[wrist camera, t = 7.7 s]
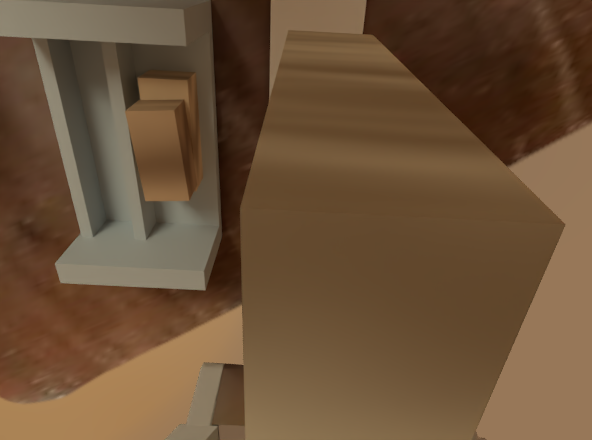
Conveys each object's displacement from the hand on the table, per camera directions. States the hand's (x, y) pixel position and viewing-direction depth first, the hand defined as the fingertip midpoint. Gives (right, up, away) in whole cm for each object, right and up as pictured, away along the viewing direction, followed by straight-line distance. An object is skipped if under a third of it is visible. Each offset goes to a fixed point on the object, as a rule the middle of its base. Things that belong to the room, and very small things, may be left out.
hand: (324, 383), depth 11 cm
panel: (0, +5, +8) cm, 9 cm away
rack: (-14, +12, +26) cm, 32 cm away
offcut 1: (-11, +12, +25) cm, 29 cm away
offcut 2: (-11, +10, +23) cm, 27 cm away
